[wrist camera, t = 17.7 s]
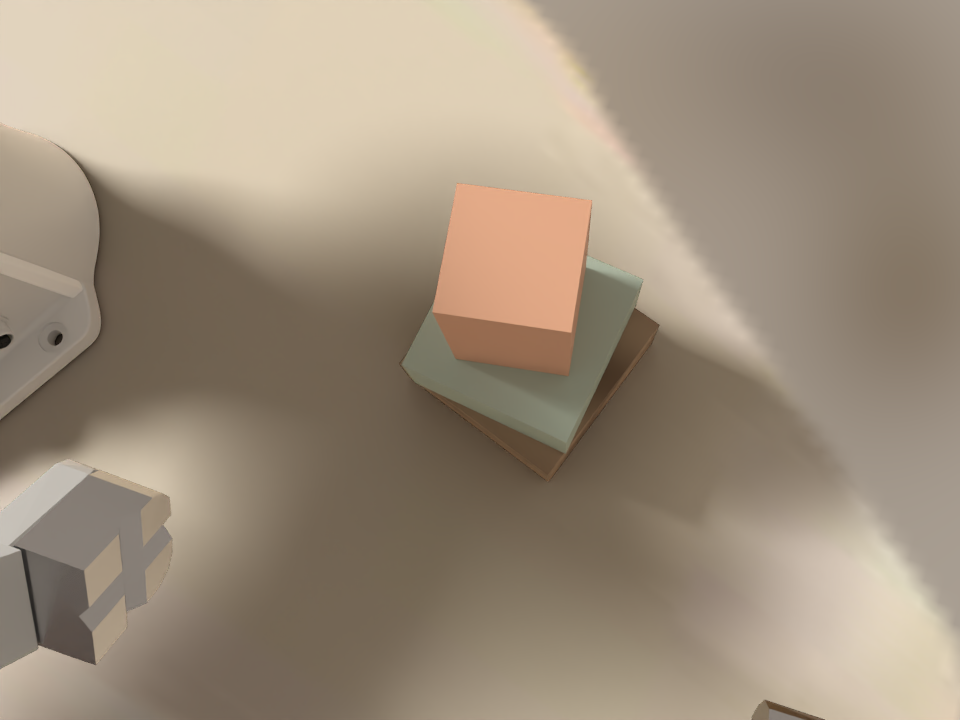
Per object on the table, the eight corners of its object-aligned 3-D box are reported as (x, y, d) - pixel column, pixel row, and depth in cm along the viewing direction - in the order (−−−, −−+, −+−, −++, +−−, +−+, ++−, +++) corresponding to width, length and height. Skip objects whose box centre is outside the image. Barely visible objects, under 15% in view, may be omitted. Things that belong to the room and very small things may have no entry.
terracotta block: (568, 376, 38) (571, 332, 31) (455, 358, 39) (432, 312, 32) (586, 267, 39) (592, 200, 32) (475, 252, 40) (456, 183, 33)
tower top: (565, 453, 42) (566, 442, 38) (415, 382, 43) (401, 364, 39) (635, 305, 43) (643, 279, 39) (487, 240, 44) (480, 209, 41)
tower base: (548, 483, 45) (547, 475, 42) (412, 380, 47) (399, 363, 43) (650, 345, 47) (659, 325, 43) (513, 250, 48) (509, 222, 45)
